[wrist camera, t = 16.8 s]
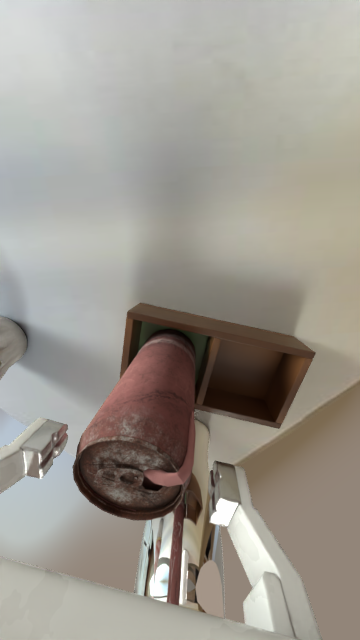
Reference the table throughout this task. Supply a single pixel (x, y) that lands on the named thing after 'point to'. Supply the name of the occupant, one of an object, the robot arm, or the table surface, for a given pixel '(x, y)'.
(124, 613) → the robot arm
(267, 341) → the tray
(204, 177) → the table surface
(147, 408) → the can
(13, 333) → the cupcake
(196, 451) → the beer glass
